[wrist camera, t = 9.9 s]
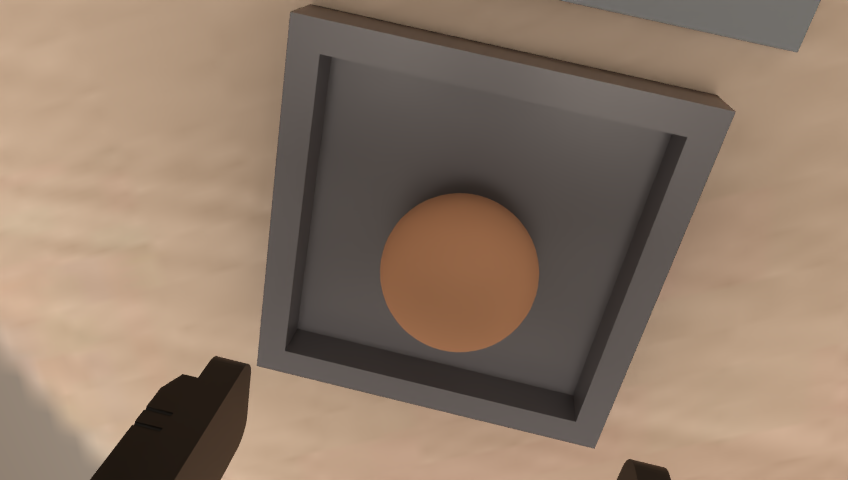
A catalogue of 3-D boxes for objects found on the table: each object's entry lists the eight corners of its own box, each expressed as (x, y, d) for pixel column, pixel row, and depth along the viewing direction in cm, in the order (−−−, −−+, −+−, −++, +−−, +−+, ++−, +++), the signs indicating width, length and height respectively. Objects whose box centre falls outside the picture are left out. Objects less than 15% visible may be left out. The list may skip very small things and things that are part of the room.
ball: (408, 156, 22) (379, 215, 17) (555, 189, 22) (563, 258, 17) (384, 281, 24) (352, 362, 20) (517, 313, 24) (515, 402, 20)
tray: (310, 4, 21) (290, 11, 19) (716, 95, 20) (735, 111, 18) (274, 336, 27) (256, 365, 25) (589, 412, 26) (594, 448, 24)
